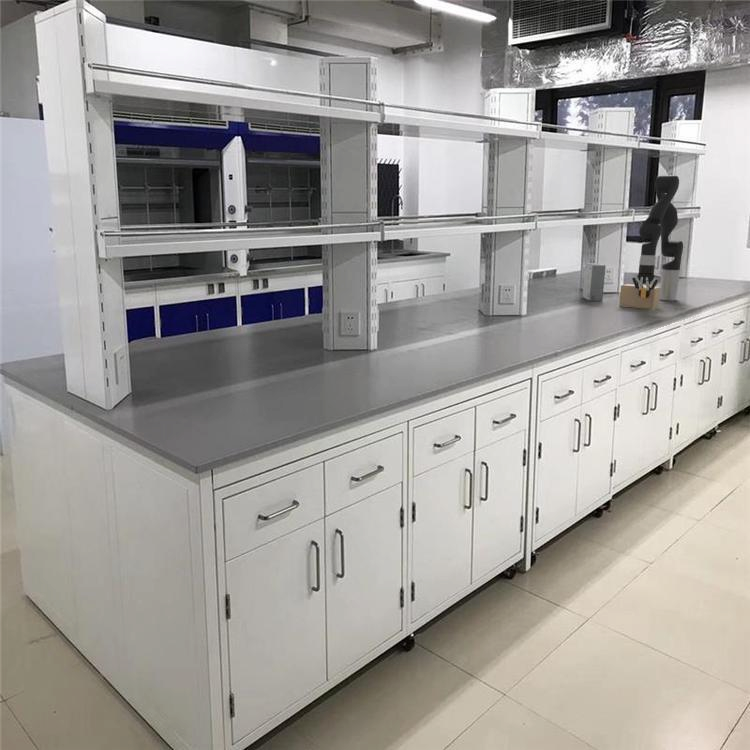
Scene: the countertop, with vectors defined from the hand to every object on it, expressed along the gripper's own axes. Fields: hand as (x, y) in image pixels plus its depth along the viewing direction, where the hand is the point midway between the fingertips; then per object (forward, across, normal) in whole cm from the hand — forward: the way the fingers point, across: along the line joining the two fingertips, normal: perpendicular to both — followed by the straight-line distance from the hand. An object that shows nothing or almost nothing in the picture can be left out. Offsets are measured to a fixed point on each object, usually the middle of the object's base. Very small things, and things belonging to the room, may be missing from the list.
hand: (643, 297), depth 371 cm
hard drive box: (+7, +35, -19) cm, 40 cm away
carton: (+7, +5, -8) cm, 12 cm away
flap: (+6, +5, -1) cm, 8 cm away
